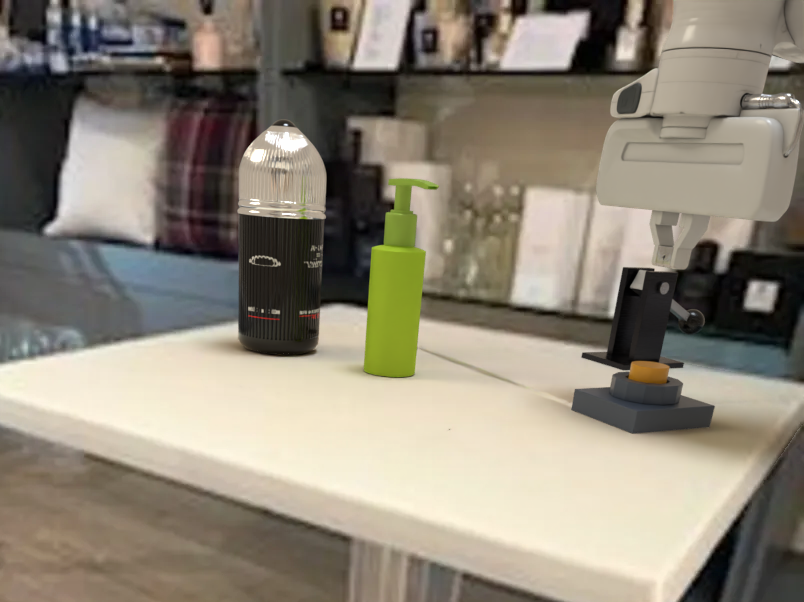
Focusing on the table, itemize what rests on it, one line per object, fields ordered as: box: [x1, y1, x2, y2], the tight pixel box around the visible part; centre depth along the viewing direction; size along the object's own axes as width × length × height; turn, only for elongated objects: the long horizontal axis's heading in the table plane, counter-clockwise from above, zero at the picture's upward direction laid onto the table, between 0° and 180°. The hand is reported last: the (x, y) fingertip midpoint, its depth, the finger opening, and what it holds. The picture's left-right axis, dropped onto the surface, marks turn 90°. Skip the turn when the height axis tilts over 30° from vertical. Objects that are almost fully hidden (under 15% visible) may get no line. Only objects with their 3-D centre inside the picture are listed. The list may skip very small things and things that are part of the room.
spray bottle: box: [236, 118, 327, 356], centre depth 103 cm, size 10×10×25 cm
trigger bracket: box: [581, 266, 685, 371], centre depth 110 cm, size 10×8×12 cm
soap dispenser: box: [363, 177, 440, 378], centre depth 95 cm, size 6×7×20 cm
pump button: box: [628, 361, 671, 384], centre depth 85 cm, size 4×4×2 cm
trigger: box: [630, 270, 706, 336], centre depth 111 cm, size 13×3×3 cm, turn 116°
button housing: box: [570, 371, 716, 435], centre depth 86 cm, size 10×9×4 cm
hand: (668, 267), depth 81 cm, fingers closed
